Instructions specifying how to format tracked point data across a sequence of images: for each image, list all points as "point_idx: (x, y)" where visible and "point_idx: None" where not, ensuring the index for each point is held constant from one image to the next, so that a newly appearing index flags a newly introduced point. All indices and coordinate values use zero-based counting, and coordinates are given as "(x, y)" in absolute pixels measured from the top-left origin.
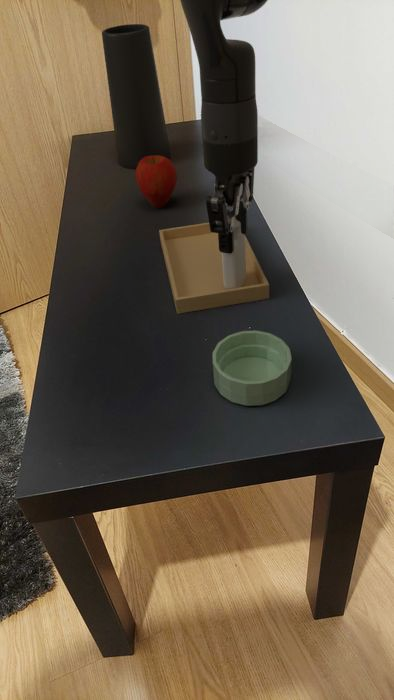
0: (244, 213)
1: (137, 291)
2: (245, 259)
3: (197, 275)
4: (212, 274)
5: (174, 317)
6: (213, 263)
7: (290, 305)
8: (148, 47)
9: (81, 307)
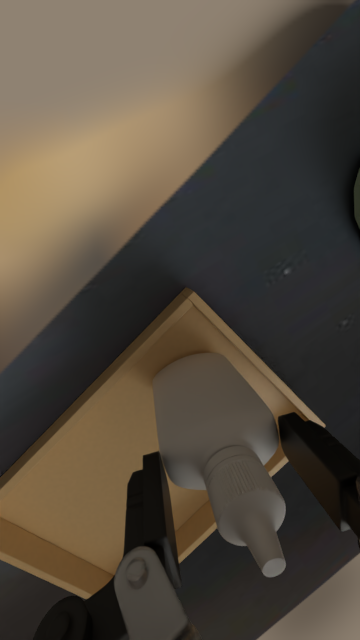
0: (167, 538)
1: None
2: (178, 387)
3: None
4: None
5: (312, 403)
6: (144, 454)
7: (184, 231)
8: None
9: None
